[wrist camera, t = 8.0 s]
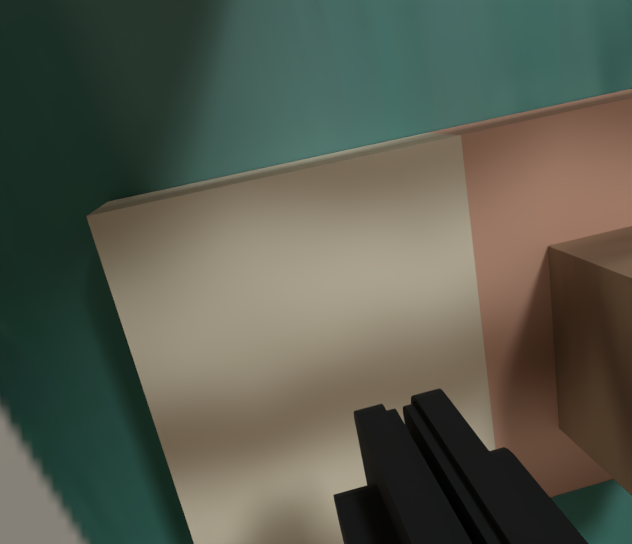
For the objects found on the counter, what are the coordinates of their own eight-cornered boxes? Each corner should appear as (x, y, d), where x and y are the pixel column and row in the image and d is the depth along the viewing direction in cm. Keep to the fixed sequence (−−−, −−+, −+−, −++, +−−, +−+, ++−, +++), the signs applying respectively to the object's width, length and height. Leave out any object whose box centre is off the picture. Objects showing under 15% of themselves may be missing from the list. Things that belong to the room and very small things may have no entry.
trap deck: (108, 201, 15) (85, 216, 13) (924, 25, 18) (1031, 10, 15) (213, 536, 19) (211, 596, 16) (881, 348, 21) (962, 376, 19)
